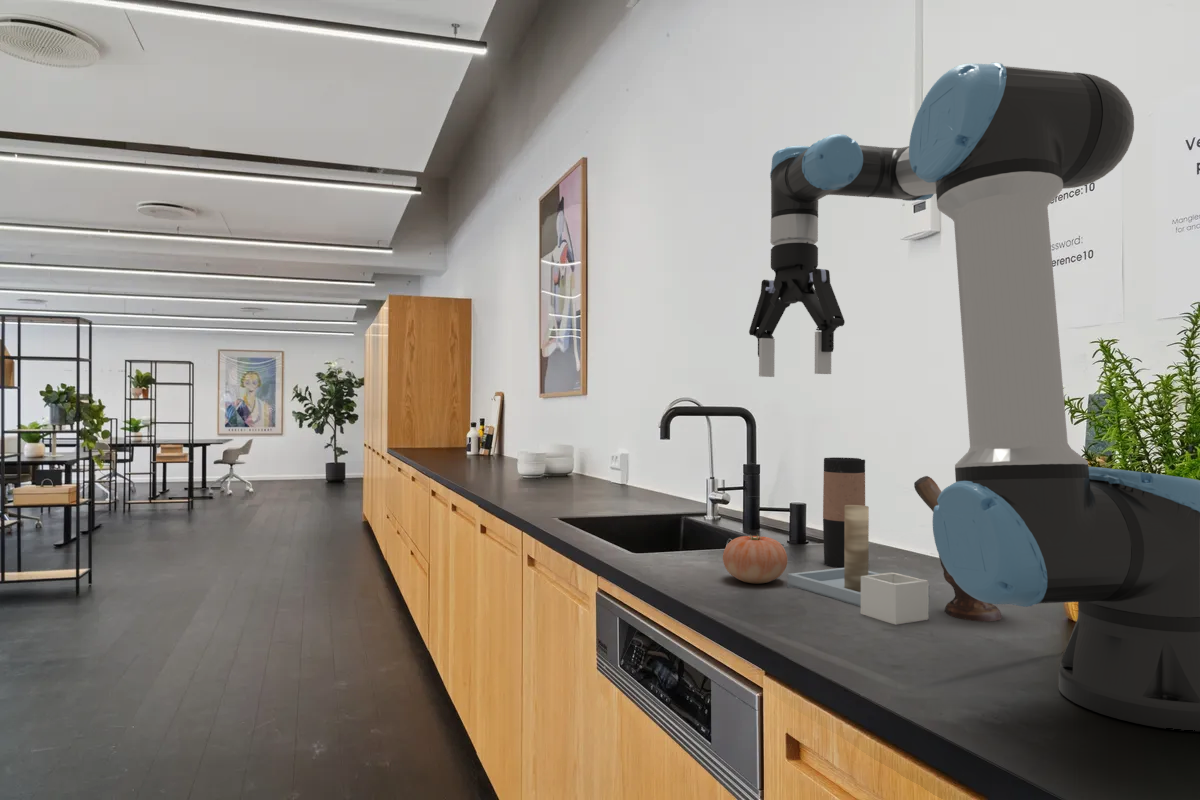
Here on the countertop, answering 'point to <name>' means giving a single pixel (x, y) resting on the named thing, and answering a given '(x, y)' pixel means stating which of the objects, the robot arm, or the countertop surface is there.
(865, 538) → the dowel
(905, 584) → the open box
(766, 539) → the pumpkin
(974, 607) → the mortar and pestle
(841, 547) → the travel mug
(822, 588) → the tray
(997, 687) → the countertop surface
